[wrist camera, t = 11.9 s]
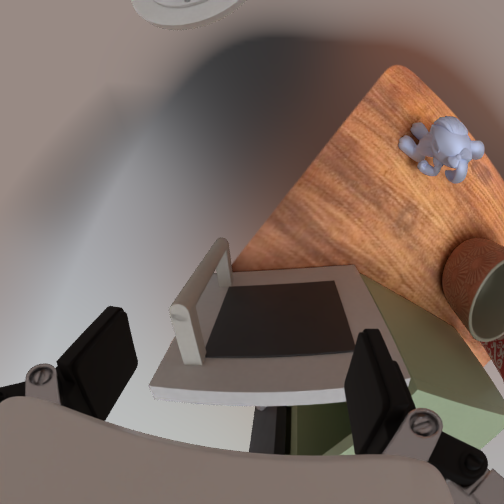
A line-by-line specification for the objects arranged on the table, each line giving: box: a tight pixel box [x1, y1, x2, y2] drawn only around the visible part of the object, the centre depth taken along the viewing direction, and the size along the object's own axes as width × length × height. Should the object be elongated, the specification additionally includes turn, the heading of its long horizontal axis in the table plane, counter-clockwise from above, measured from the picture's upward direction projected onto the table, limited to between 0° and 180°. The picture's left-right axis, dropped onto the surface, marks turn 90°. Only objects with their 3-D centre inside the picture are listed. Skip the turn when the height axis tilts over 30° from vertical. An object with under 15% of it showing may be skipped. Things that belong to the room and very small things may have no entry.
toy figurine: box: [398, 116, 484, 183], centre depth 26 cm, size 7×6×12 cm
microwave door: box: [149, 238, 411, 406], centre depth 28 cm, size 7×20×22 cm, turn 96°
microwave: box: [249, 273, 504, 456], centre depth 33 cm, size 24×28×22 cm
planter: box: [442, 238, 504, 342], centre depth 31 cm, size 12×12×11 cm
